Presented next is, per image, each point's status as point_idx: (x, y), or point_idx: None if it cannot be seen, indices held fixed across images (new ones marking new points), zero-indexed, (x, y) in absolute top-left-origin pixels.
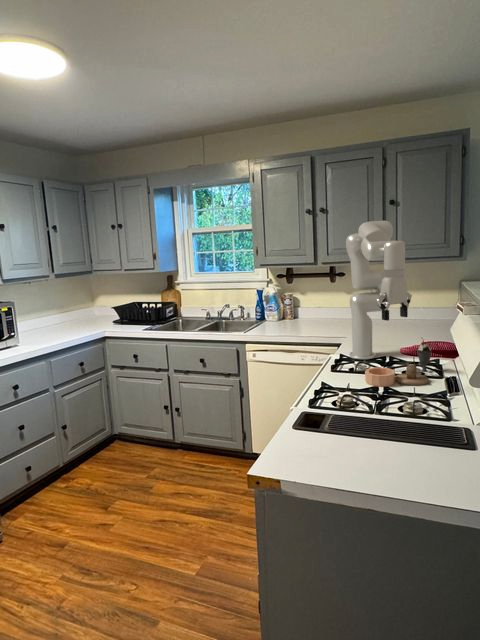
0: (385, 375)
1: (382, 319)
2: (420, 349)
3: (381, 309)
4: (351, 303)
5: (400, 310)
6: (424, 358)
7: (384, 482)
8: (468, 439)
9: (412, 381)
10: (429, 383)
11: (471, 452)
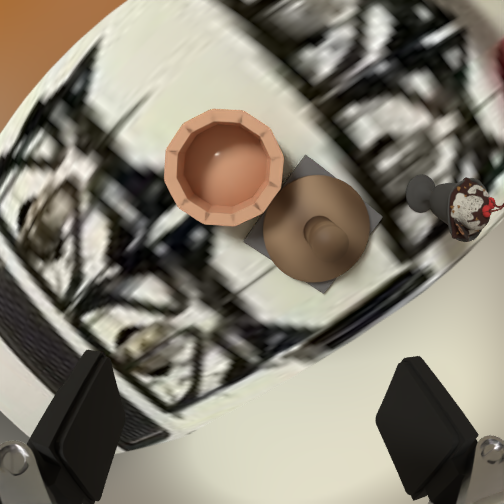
0: (200, 217)
1: (90, 356)
2: (455, 209)
3: (14, 453)
4: None
5: (429, 412)
6: (438, 215)
7: (11, 412)
8: (141, 442)
9: (288, 257)
10: (330, 280)
11: (119, 450)
